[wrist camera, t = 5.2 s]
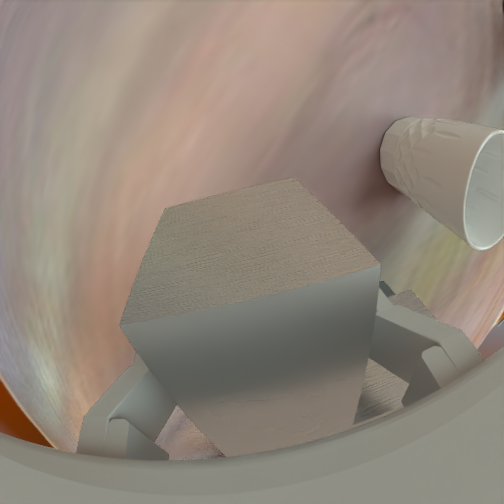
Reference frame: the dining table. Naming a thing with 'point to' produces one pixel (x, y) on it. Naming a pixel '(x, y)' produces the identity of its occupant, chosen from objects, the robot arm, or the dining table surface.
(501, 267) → the dining table surface
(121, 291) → the dining table surface
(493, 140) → the white cup
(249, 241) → the l-shaped metal block
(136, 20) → the dining table surface
